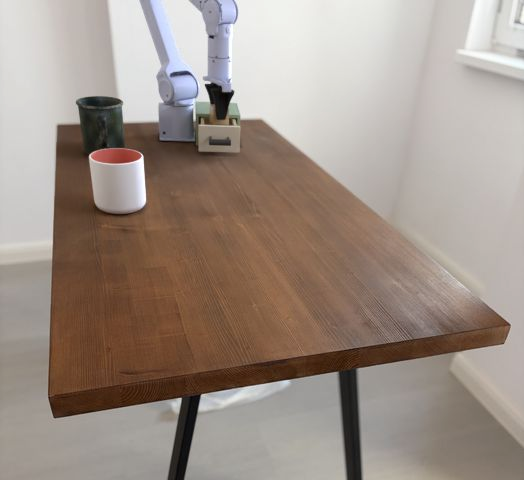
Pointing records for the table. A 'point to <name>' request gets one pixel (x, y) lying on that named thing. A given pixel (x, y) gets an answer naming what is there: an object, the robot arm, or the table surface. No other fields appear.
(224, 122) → the block
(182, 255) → the table surface
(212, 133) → the drawer
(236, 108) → the cabinet
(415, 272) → the table surface
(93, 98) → the mug
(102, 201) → the cup
